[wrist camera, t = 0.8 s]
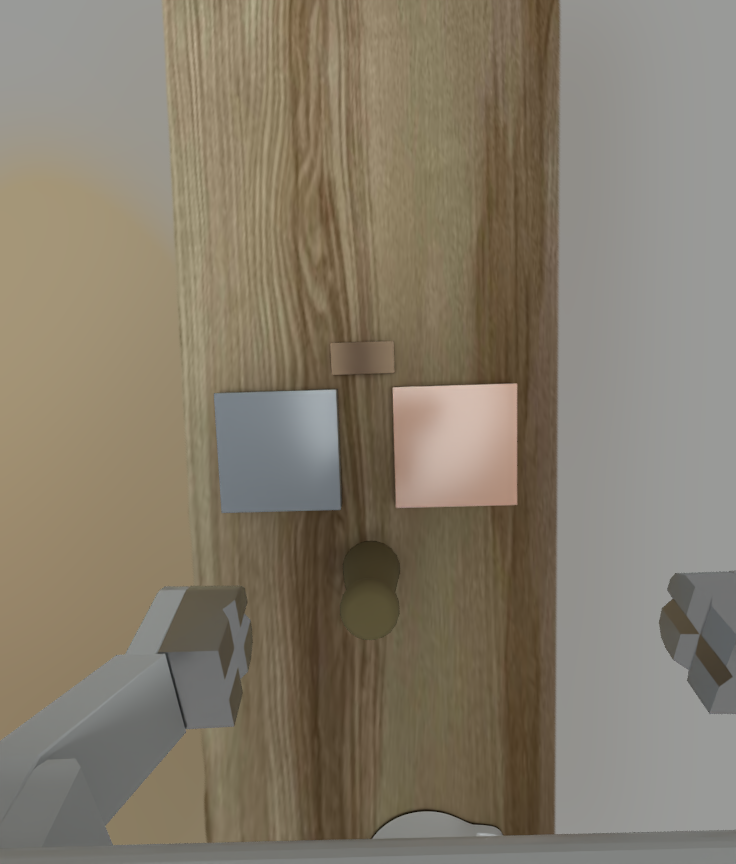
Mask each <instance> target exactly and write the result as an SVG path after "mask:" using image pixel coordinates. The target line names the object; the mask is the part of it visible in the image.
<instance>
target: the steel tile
mask: <svg viewBox="0 0 736 864" xmlns="http://www.w3.org/2000/svg"><path fill="white" fill-rule="evenodd" d="M214 403H215V418H216V433H217V449H218V464H219V479H220V494H221V510H222V513H235V512H274V511H313V510H341V507H342V489H341V463H340V437H339V411H338V389H322V390H290V391H259V392H227V393H214Z"/></svg>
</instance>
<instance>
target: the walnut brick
mask: <svg viewBox="0 0 736 864" xmlns="http://www.w3.org/2000/svg"><path fill="white" fill-rule="evenodd" d="M330 345H331V370H332V375H344V374H374V373H394V341H377V342H348V343H330Z"/></svg>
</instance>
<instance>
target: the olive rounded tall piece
mask: <svg viewBox="0 0 736 864" xmlns="http://www.w3.org/2000/svg"><path fill="white" fill-rule="evenodd" d="M399 574H400V563H399V561H398V558H397V555H396V554H395V553H394V552H393V550H392V549H391V548H389V547H388V546H386V545H385V544H383V543H380V542H376V541H366V542H363V543H360V544H357V545H356V546H354V547H353V548H352V549H350V551H349V552H348V554H347V555H346V557H345V560H344V563H343V575H344V582H345V588H346V591H345V593H344V594H343V597H342V600H341V604H340V615H341V618H342V621H343V623H344V626H345V627H346V628H347V630H348V631H349V632H350V633H351V634H353V635H354V636H356V637H357V638H361V639H364V640H376V639H379V638H382V637H384V636H386V635H387V634H388V633H390V632H391V631H392V629H393V628H394V626H395V625H396V623H397V620H398V617H399V601H398V598H397V596H396V593H395V591H396V586H397V582H398V578H399Z"/></svg>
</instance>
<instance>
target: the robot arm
mask: <svg viewBox="0 0 736 864" xmlns="http://www.w3.org/2000/svg"><path fill="white" fill-rule="evenodd" d="M667 590H668V592H669V594H670V595H671V597H672V598H673V599H672V600H671V601H670V602H668V603H667V604H666V605H665V606H664V607H663V608H662V611H661V616H660V620H659V624H660V632H661V638H662V640H663V643H664V645H665V648H666V649H667V651H668V652H669V654H670V656H671V657H672V659H673V660H674V661H676V662H677V663H679V664H680V665H682V666H683V667H685V668H686V669H688V670H689V671H688V678H687V681H688V683H689V684H690V686H691V687H692V688H693V690H694V692H695V693H696V695H697V696H698V697H699V699H700V700H701V702H702V703H703V705H704V706H705V708H706V709H707V711H708V712H709V713H710V714H736V571H729V572H698V573H675V575H674V576H673V577H672V578H671V579H670V583H669V585H668V588H667ZM246 606H247V597H246V592H245V588H244V587H243V586H190V587H164V588H162V589H161V590H160V591H159V592H158V593H157V595H156V597H155V599H154V601H153V603H152V605H151V607H150V608H149V610H148V612H147V614H146V616H145V618H144V620H143V622H142V624H141V626H140V627H139V629H138V631H137V633H136V635H135V637H134V639H133V641H132V643H131V644H130V646H129V648H128V650H127V652H126V654H125V655H116V656H115V657H114V658H112V659H111V660H109V661H108V662H107V663H105V664H104V665H103V666H101V667H100V668H99V669H97V670H96V671H94V672H93V673H92V674H90V675H89V676H88V677H86V678H85V679H84V680H83V681H81V682H80V683H78V684H77V685H76V686H74V687H73V688H71V689H70V690H69V691H68V692H66V693H65V694H63V695H62V696H60V697H59V698H58V699H56V700H55V701H54V702H52V703H51V704H50V705H48V706H47V707H46V708H44V709H43V710H41V711H40V712H39V713H37V714H36V715H35V716H33V717H32V718H31V719H29V720H28V721H27V722H25V723H24V724H23V725H21V726H20V727H18V728H17V729H16V730H14V731H13V732H12V733H10V734H9V735H8V736H6V737H5V738H4V739H2V740H1V741H0V864H736V830H714V831H675V832H673V831H672V832H637V833H636V832H633V833H593V834H554V835H514V836H503V834H502V832H501V831H500V830H499V829H498V828H496V827H493V826H487V825H473V824H470V823H467V822H465V821H463V820H460V819H458V818H456V817H454V816H451V815H448V814H444V813H440V812H431V811H423V812H414V813H410V814H406V815H403V816H400V817H398V818H396V819H394V820H392V821H390V822H389V823H387V824H386V825H385V826H383V827H382V828H381V829H380V830H379V831H378V832H377V833H376V834H375V835H374V837H373V838H372V839H347V840H305V841H264V842H224V843H184V844H150V845H149V844H147V845H113V844H112V842H111V839H110V837H109V835H108V832H107V830H106V827H105V825H106V824H107V823H108V822H109V821H110V820H111V818H112V817H113V816H114V815H115V814H116V812H118V810H119V809H120V808H121V807H122V806H123V805H124V803H125V802H126V801H127V800H128V799H129V797H131V795H132V794H133V793H134V792H135V791H136V790H137V788H138V787H139V786H140V785H141V784H142V782H143V781H144V780H145V779H146V778H147V777H148V775H149V774H150V773H151V772H152V771H153V770H154V769H155V768H156V766H157V765H158V764H159V763H160V762H161V760H162V759H163V758H164V757H165V756H166V755H167V754H168V752H169V751H170V750H171V749H172V748H173V747H174V746H175V744H176V743H177V742H178V741H179V740H180V738H181V737H182V736H183V735H184V734H185V733H186V730H185V729H196V728H215V727H233V726H234V725H235V721H236V717H237V713H238V709H239V705H240V701H241V698H242V694H243V692H242V686H241V680H240V679H241V678H242V677H243V676H244V675H245V674H246V673H247V672H248V669H249V665H250V660H251V653H252V643H253V640H252V626H251V620H250V619H249V618H248V617H247V616H246V615H245V614H244V613H245V609H246Z"/></svg>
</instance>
